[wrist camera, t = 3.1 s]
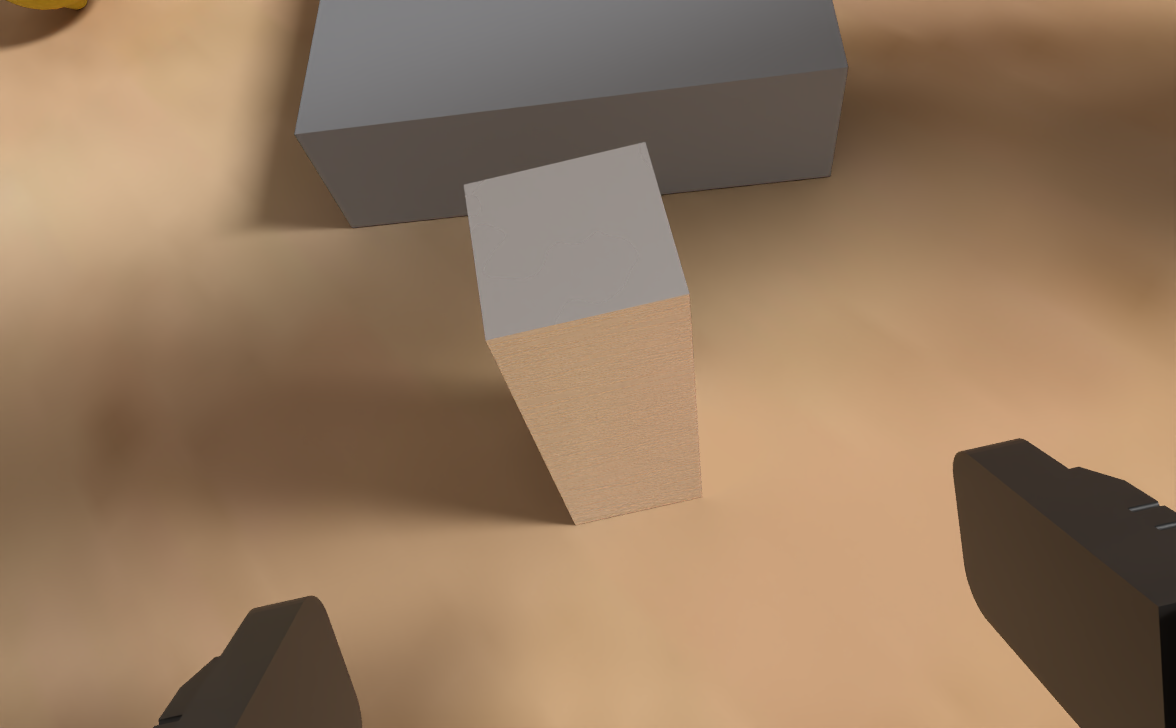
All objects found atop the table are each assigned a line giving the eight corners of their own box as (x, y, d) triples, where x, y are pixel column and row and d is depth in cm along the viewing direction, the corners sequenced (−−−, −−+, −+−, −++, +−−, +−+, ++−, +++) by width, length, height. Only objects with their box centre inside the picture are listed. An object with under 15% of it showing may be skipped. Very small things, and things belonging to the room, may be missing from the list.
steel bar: (672, 384, 25) (645, 141, 16) (702, 496, 23) (689, 293, 14) (554, 411, 25) (463, 184, 16) (575, 525, 23) (485, 340, 14)
